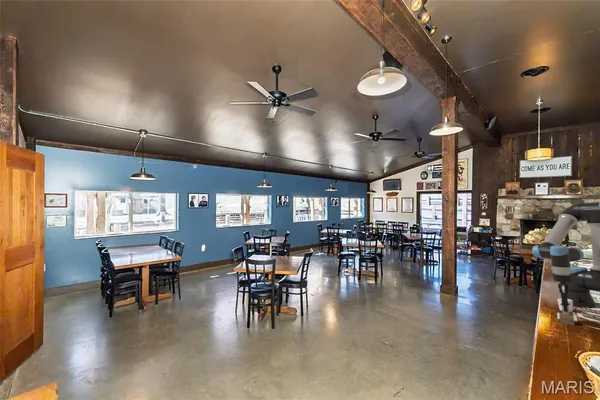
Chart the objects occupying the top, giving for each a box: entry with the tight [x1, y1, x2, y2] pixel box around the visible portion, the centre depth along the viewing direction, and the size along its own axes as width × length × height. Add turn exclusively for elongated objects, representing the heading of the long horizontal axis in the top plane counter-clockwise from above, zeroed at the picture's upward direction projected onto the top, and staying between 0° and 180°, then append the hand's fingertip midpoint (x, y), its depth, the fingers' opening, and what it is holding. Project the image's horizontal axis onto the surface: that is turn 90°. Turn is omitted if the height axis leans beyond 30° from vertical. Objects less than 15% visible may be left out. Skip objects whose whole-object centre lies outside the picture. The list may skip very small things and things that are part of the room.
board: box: [556, 312, 578, 322], centre depth 156 cm, size 11×8×1 cm
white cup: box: [557, 297, 574, 313], centre depth 166 cm, size 7×7×7 cm
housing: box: [558, 312, 575, 326], centre depth 149 cm, size 6×6×4 cm
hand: (566, 317), depth 152 cm, fingers closed
